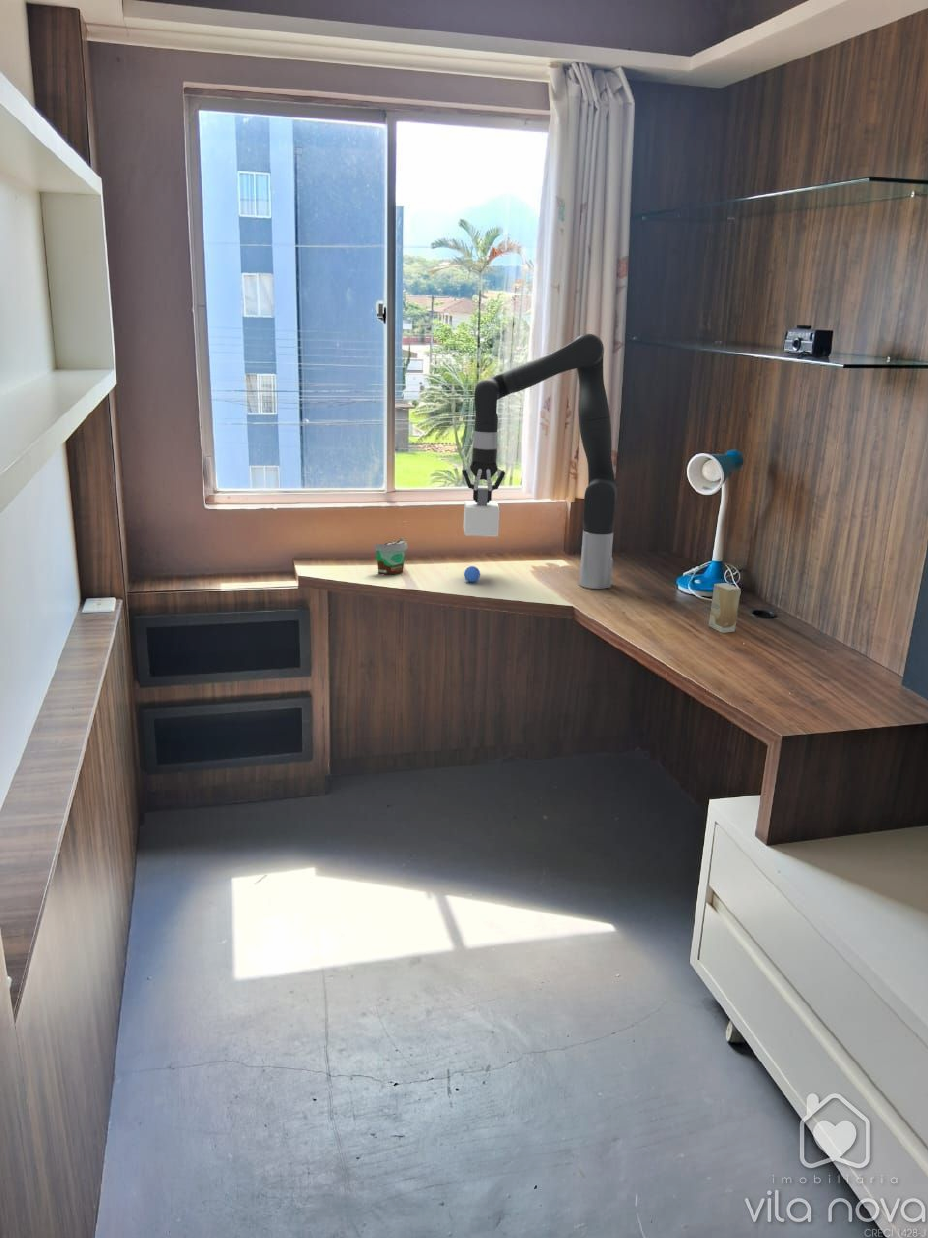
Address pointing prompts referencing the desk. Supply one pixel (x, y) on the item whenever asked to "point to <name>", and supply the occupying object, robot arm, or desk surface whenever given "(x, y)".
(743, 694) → the desk surface
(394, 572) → the food container
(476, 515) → the white block with peg
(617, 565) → the desk surface
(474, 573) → the ball
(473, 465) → the robot arm
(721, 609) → the skincare box
